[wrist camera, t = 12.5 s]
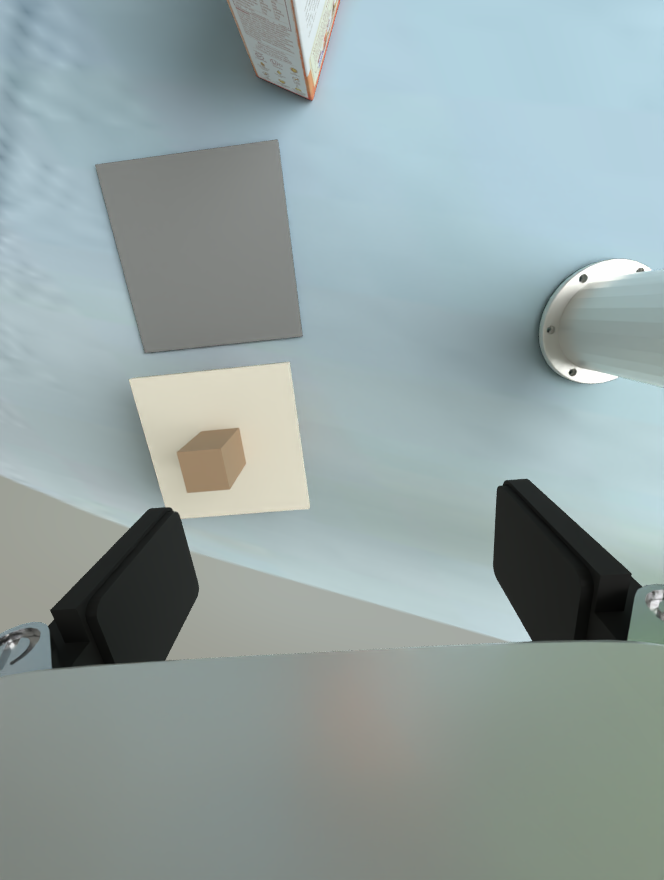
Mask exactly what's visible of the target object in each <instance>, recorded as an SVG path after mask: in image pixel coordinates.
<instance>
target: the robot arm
mask: <svg viewBox="0 0 664 880" xmlns="http://www.w3.org/2000/svg"><path fill="white" fill-rule="evenodd" d="M579 277H580V281H579ZM547 328H549V330H548V332H547ZM539 343H540V348H541V351H542V355H543V357H544V358H545V360H546V362H547V364H548V365H549V366H550V367H551V368H552V370H553V371H555V372H556V373H557V374H559V375H560V376H562V377H564V378H566V379H569V380H571V381H575V382H579V383H586V384H595V383H603V382H607V381H611V380H614V379H616V378H618V377H621V378H625V379H629V380H633V381H637V382H641V383H646V384H650V385H654V386H658V387H662V388H664V269H659V270H652V269H650V268H649V267H648V266H646V265H644V264H642V263H640V262H638V261H634V260H630V259H609V260H603V261H599V262H596V263H593V264H590V265H588V266H586V267H584V268H582V269H580V270H578V271H576V272H575V273H574V274H572V275H571V276H570V277H568V278H567V279H566V280H565V281H564V282H563V283H562V284H561V285H560V286H559V287H558V288H557V289H556V291H555V292H554V293H553V295H552V296H551V298H550V299H549V301H548V303H547V305H546V307H545V309H544V312H543V315H542V318H541V321H540V328H539ZM569 371H570V372H569ZM493 568H494V573H495V576H496V578H497V580H498V582H499V584H500V585H501V587H502V589H503V591H504V592H505V594H506V596H507V598H508V599H509V601H510V603H511V605H512V606H513V608H514V610H515V612H516V613H517V615H518V617H519V618H520V620H521V622H522V624H523V625H524V627H525V629H526V631H527V632H528V634H529V636H530V638H531V639H532V641H530V642H509V643H488V644H467V645H447V646H426V647H409V648H408V647H407V648H389V649H370V650H351V651H332V652H314V653H297V654H296V653H295V654H277V655H257V656H239V657H222V658H221V657H219V658H202V659H184V660H168V661H165V660H166V657H167V656H168V654H169V651H170V650H171V648H172V646H173V644H174V641H175V640H176V638H177V636H178V634H179V632H180V630H181V628H182V626H183V624H184V622H185V620H186V618H187V616H188V614H189V612H190V610H191V608H192V606H193V604H194V602H195V600H196V598H197V596H198V592H199V585H198V581H197V577H196V573H195V570H194V566H193V562H192V559H191V555H190V551H189V548H188V544H187V540H186V537H185V533H184V529H183V526H182V522H181V518H180V515H179V513H178V512H176V511H173V509H172V508H170V507H164V508H152V509H149V510H147V512H146V513H145V514H144V515H143V516H142V517H141V518H140V519H139V520H138V521H137V522H136V523H135V524H134V525H133V526H132V527H131V528H130V529H129V530H128V531H127V532H126V533H125V534H124V535H123V536H122V537H121V538H120V539H119V540H118V541H117V542H116V543H115V544H114V545H113V547H111V549H110V550H109V551H108V552H107V553H106V554H105V555H104V556H103V557H102V558H101V559H100V560H99V561H98V562H97V563H96V564H95V565H94V566H93V567H92V568H91V569H90V570H89V571H88V572H87V573H86V574H85V575H84V576H83V577H82V578H81V579H80V580H79V581H78V582H77V583H76V584H75V586H73V587H72V588H71V590H70V591H69V592H68V593H67V594H66V595H65V596H64V597H63V598H62V599H61V600H60V601H59V602H58V603H57V604H56V605H55V606H54V607H53V608H52V609H51V610H50V611H51V613H52V615H53V617H54V620H53V621H52V623H51V624H50V625H49V626H47V625H46V624H44V623H41V622H31V623H27V624H22V625H19V626H17V627H14V628H11V629H9V630H7V631H5V632H3V633H1V634H0V880H664V585H662V584H653V585H646V586H644V587H642V586H641V585H640V584H639V583H638V582H637V581H636V580H634V579H633V578H632V577H631V574H632V573H630V572H629V571H628V570H627V569H626V568H625V567H624V566H623V565H622V564H621V563H619V562H618V561H617V560H616V559H615V558H614V557H613V556H612V555H611V554H610V553H608V552H607V551H606V550H605V549H604V548H603V547H602V546H601V545H600V544H599V543H598V542H596V541H595V540H594V539H593V538H592V537H591V536H590V535H589V534H588V533H587V532H585V531H584V530H583V529H582V528H581V527H580V526H579V525H578V524H577V523H576V522H574V521H573V520H572V519H571V518H570V517H569V516H568V515H567V514H566V513H565V512H564V511H562V510H561V509H560V508H559V507H558V506H557V505H556V504H555V503H554V502H553V501H551V500H550V499H549V498H548V497H547V496H546V495H545V494H544V493H543V492H542V491H540V490H539V489H538V488H537V487H536V486H535V485H534V484H533V483H532V482H531V481H530V480H528V479H517V480H506V481H505V482H504V483H503V486H499V487H498V488H497V498H496V518H495V538H494V558H493Z"/></svg>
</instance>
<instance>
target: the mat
mask: <svg viewBox="0 0 664 880" xmlns="http://www.w3.org/2000/svg"><path fill="white" fill-rule="evenodd" d="M95 166H96V170H97V174H98V178H99V181H100V185H101V189H102V193H103V196H104V200H105V204H106V208H107V211H108V215H109V219H110V223H111V227H112V230H113V234H114V238H115V242H116V245H117V249H118V253H119V257H120V261H121V264H122V268H123V272H124V276H125V279H126V283H127V287H128V291H129V294H130V298H131V302H132V306H133V310H134V313H135V317H136V321H137V325H138V328H139V332H140V336H141V340H142V344H143V347H144V351H145V353H149V352H158V351H168V350H177V349H187V348H196V347H206V346H215V345H225V344H234V343H244V342H253V341H263V340H272V339H281V338H291V337H300V336H303V335H302V327H301V319H300V311H299V303H298V295H297V287H296V279H295V271H294V263H293V255H292V247H291V239H290V231H289V223H288V215H287V207H286V199H285V191H284V183H283V175H282V167H281V159H280V151H279V143H278V140H270V141H263V142H256V143H249V144H241V145H234V146H227V147H220V148H213V149H205V150H198V151H191V152H184V153H176V154H169V155H162V156H155V157H148V158H140V159H133V160H126V161H119V162H111V163H104V164H97V165H95Z"/></svg>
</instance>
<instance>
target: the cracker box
mask: <svg viewBox="0 0 664 880" xmlns="http://www.w3.org/2000/svg"><path fill="white" fill-rule="evenodd" d="M227 3H228V5H229V8H230V10H231V13H232V15H233V18H234V20H235V23H236V25H237V28H238V30H239V33H240V35H241V38H242V40H243V43H244V46H245V48H246V51H247V53H248V55H249V58H250V61H251V63H252V66H253V68H254V71H255V73H256V76H257V77H259V78H262V79H264V80H266V81H268V82H270V83H273V84H275V85H277V86H279V87H282V88H284V89H286V90H289V91H291V92H293V93H295V94H298V95H300V96H302V97H305V98H307V99H309V100H311V101H312V100H313V98H314V94H315V90H316V87H317V83H318V79H319V76H320V72H321V69H322V65H323V61H324V58H325V54H326V50H327V47H328V43H329V39H330V36H331V32H332V28H333V24H334V21H335V17H336V13H337V10H338V6H339V3H340V0H227Z"/></svg>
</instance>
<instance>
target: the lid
mask: <svg viewBox="0 0 664 880" xmlns="http://www.w3.org/2000/svg"><path fill="white" fill-rule="evenodd" d="M129 382H130V385H131V389H132V392H133V396H134V399H135V403H136V406H137V410H138V413H139V417H140V420H141V424H142V427H143V431H144V434H145V438H146V441H147V444H148V448H149V451H150V455H151V458H152V462H153V465H154V469H155V472H156V476H157V479H158V483H159V486H160V490H161V493H162V497H163V500H164V504H165V507H170V508H172V509H173V511H176V512H178V513H179V515H180V518H181V519H186V518H198V517H211V516H224V515H236V514H249V513H262V512H275V511H287V510H300V509H309V508H310V502H309V495H308V488H307V481H306V474H305V467H304V460H303V452H302V445H301V438H300V431H299V424H298V417H297V410H296V403H295V396H294V388H293V381H292V374H291V367H290V362H282V363H272V364H263V365H253V366H243V367H234V368H224V369H214V370H205V371H195V372H185V373H175V374H166V375H156V376H146V377H137V378H131V379H129Z"/></svg>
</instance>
